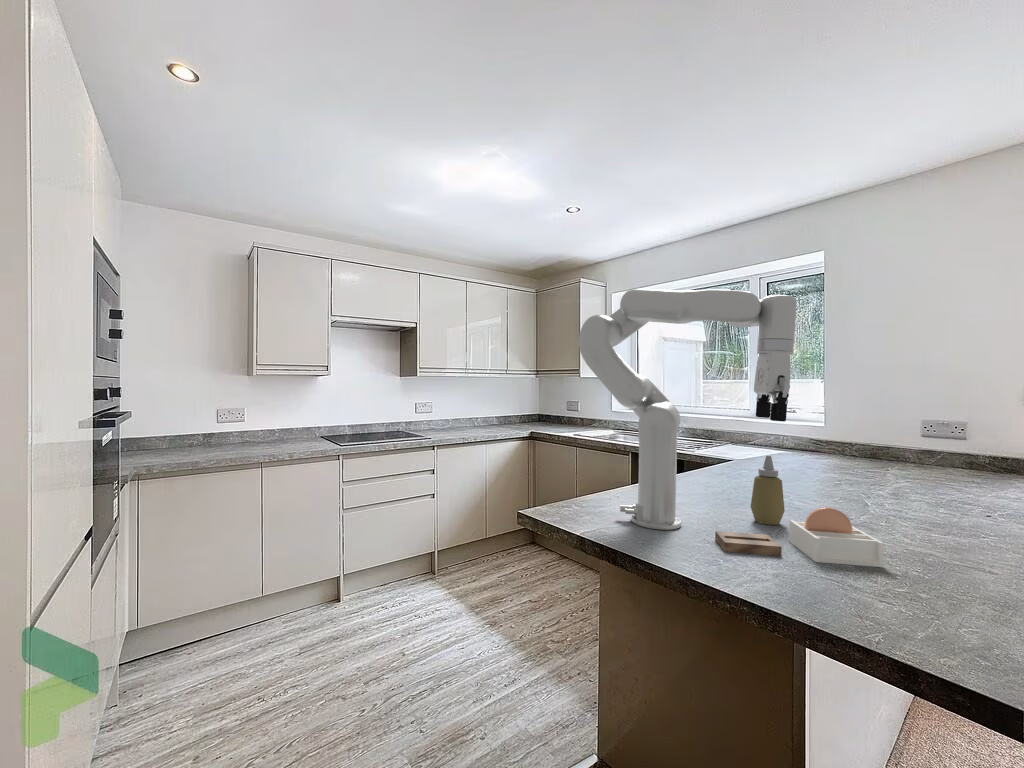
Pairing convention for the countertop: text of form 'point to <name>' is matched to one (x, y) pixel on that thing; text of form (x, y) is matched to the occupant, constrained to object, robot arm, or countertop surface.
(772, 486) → the squeeze bottle
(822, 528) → the peach round disc
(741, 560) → the countertop surface
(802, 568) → the countertop surface
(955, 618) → the countertop surface
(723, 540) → the stand
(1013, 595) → the countertop surface
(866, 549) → the rack
